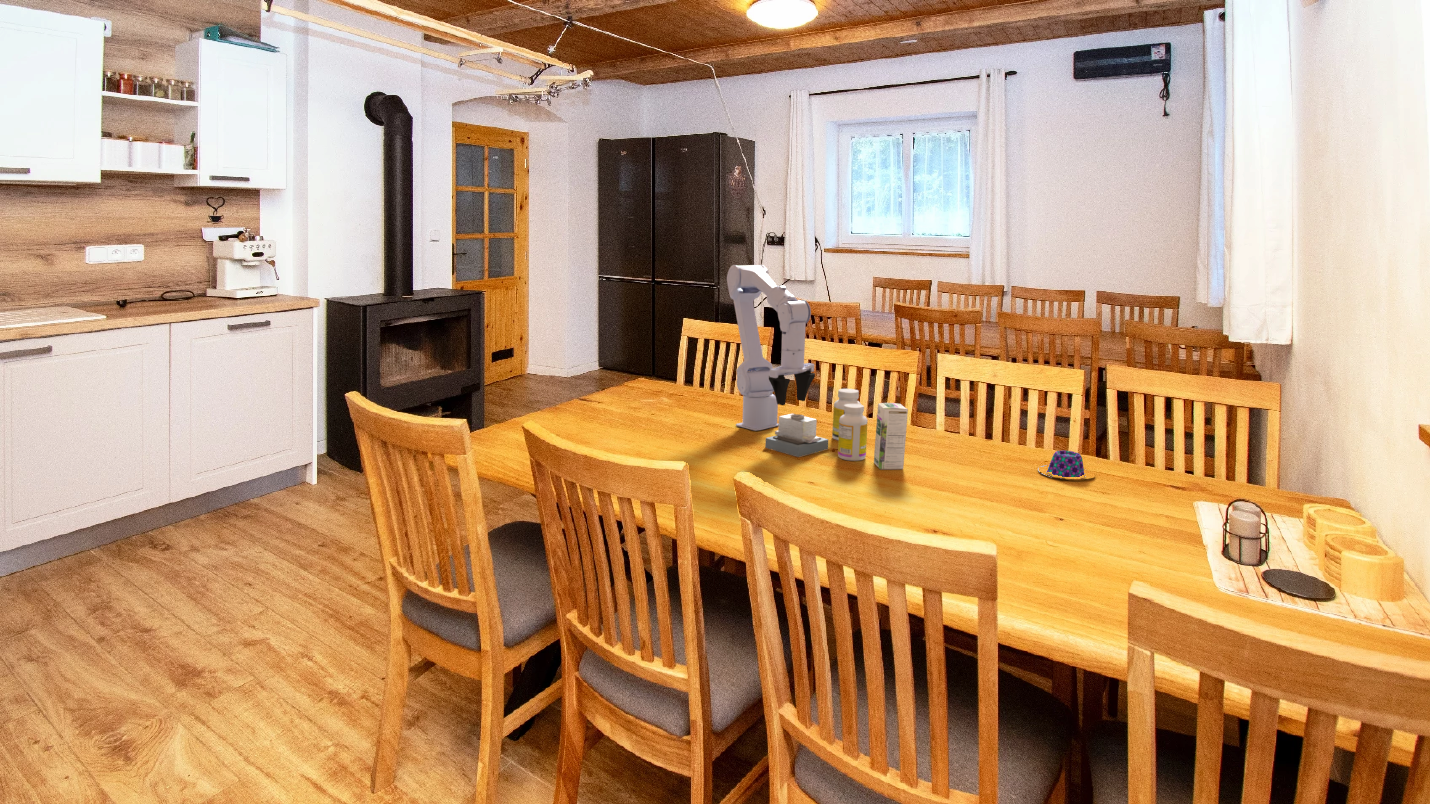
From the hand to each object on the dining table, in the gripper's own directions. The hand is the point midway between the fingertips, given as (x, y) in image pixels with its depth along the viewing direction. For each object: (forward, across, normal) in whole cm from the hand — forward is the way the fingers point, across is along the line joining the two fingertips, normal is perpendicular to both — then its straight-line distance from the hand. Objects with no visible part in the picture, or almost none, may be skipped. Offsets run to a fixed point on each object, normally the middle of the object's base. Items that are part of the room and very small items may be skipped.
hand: (791, 402), depth 212 cm
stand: (+10, -3, -5) cm, 12 cm away
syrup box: (+11, +2, -29) cm, 31 cm away
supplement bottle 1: (+11, +14, -7) cm, 19 cm away
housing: (+8, -3, -5) cm, 9 cm away
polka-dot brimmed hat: (+11, +28, -59) cm, 66 cm away
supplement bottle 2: (+11, +1, -19) cm, 22 cm away
